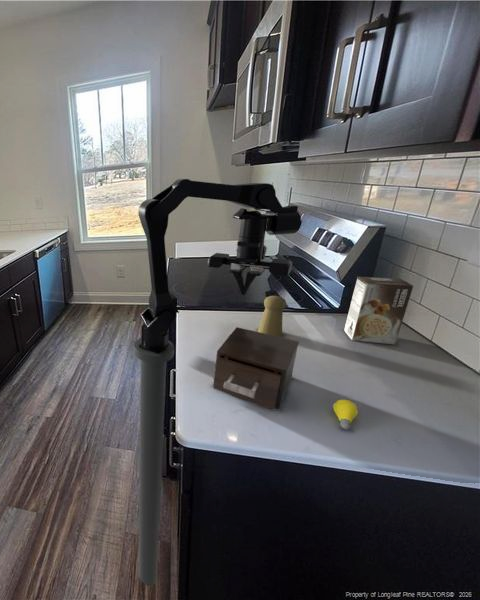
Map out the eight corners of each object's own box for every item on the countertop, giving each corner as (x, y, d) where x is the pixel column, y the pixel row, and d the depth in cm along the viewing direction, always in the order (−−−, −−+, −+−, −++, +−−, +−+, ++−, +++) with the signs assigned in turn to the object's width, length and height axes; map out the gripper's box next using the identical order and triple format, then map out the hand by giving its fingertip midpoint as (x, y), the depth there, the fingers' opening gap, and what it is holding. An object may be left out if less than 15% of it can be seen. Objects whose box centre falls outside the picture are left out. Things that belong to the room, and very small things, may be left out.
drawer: (268, 423, 57) (275, 390, 55) (205, 399, 65) (208, 369, 62) (286, 378, 69) (292, 349, 67) (231, 362, 76) (235, 335, 74)
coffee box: (384, 334, 86) (402, 277, 80) (395, 345, 81) (415, 285, 75) (342, 330, 89) (357, 275, 84) (350, 340, 84) (366, 283, 78)
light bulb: (349, 410, 60) (362, 401, 58) (349, 437, 57) (363, 429, 54) (329, 401, 62) (341, 392, 59) (328, 427, 58) (340, 418, 55)
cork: (274, 328, 93) (280, 293, 89) (286, 337, 88) (294, 300, 84) (253, 329, 93) (259, 294, 89) (264, 338, 88) (270, 301, 84)
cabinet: (278, 410, 62) (287, 370, 58) (213, 387, 70) (217, 350, 66) (291, 376, 71) (299, 341, 68) (232, 359, 79) (236, 327, 76)
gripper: (301, 233, 79) (289, 292, 85) (223, 229, 90) (217, 281, 96) (293, 241, 71) (281, 305, 77) (209, 236, 83) (204, 292, 88)
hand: (243, 294), depth 85 cm, fingers closed
